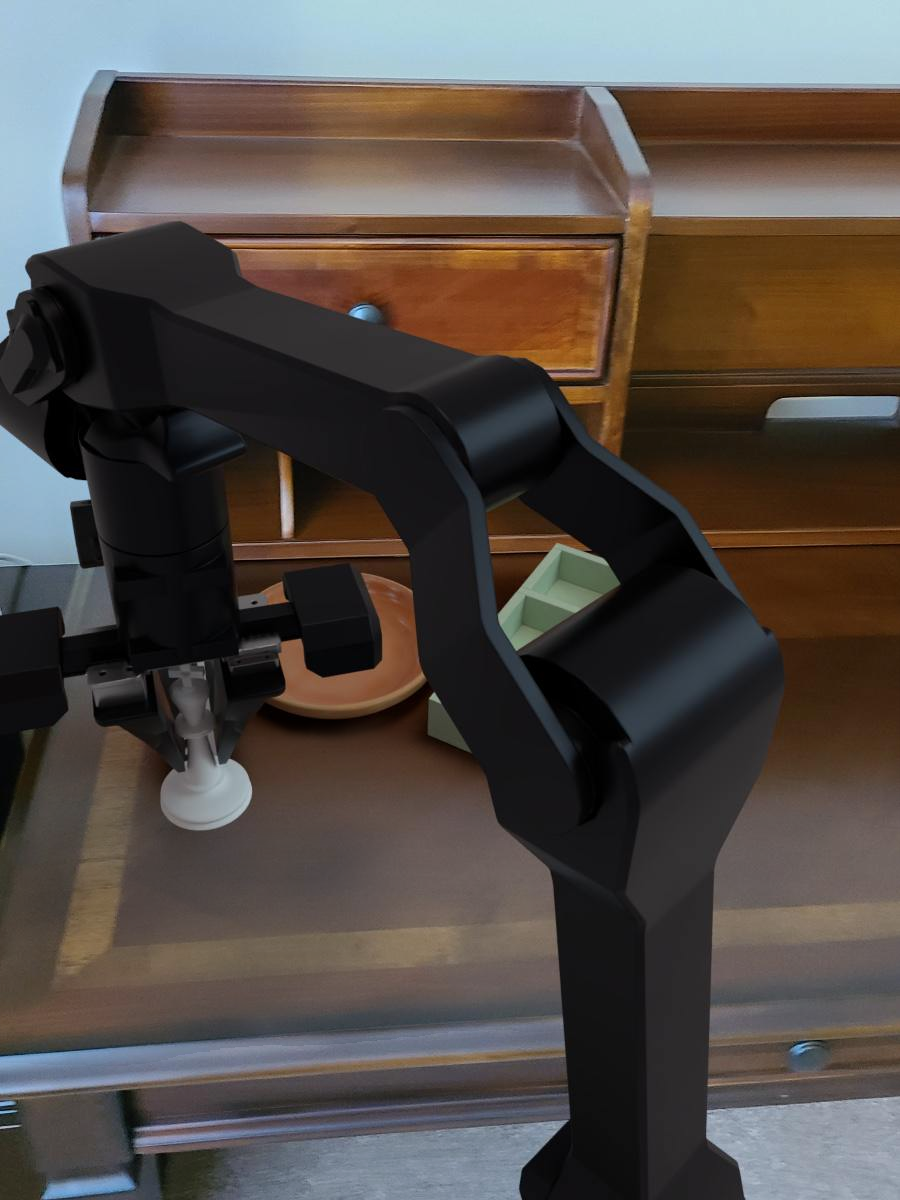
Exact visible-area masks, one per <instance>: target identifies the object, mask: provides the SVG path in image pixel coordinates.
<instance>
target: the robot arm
mask: <svg viewBox="0 0 900 1200" xmlns="http://www.w3.org/2000/svg"><path fill="white" fill-rule="evenodd" d="M24 269H25V271H26V274H27V276H28V278H29V279H30V289H26V290H23V291H20V292H19V293H18V294H17V297H16V298H15V302H14V308H11V309H7V310H6V314H5V316H6V319H7V323H8V328H9V331H8V335H7V336H6V337H5V338H4V339H3V340H2V341H0V426H1V427H2V428H3V429H4V430H5V431H7V432H8V433H9V434H10V435H12V436H13V437H14V438H15V439H17V440H18V441H19V442H20V443H21V444H23V445H24V446H25V447H26V448H27V449H29V450H30V451H32V452H33V453H34V454H35V455H36V456H37V457H39V459H42V460H43V461H44V462H45V463H47V464H48V465H49V466H50V467H51V468H52V469H54V470H55V471H56V472H57V473H59V474H60V475H61V476H62V477H64V478H65V479H73V480H76V481H86V483H87V489H88V493H89V498H90V499H89V498H88V499H82V500H73V501H70V504H69V510H70V517H71V523H72V530H73V536H74V542H75V548H76V552H77V559H78V563H79V566H80V568H81V569H82V570H85V569H93V568H100V567H104V571H105V575H106V580H107V586H108V591H109V593H110V594H109V595H110V601H111V605H112V610H113V614H114V619H115V623H114V624H108V625H103V626H96V627H88V628H86V629H84V630H83V631H82V634H75V635H69V636H65V634H66V625H65V621H64V617H63V612H62V609H61V608H60V607H59V606H58V605H57V606H52V607H45V608H37V609H31V610H25V611H19V612H11V613H5V614H0V736H3V735H9V734H16V733H21V732H25V731H31V730H37V729H43V728H48V727H53V726H55V725H56V724H57V723H58V722H59V721H60V720H62V718H63V717H64V716H65V715H66V714H67V713H68V711H69V699H68V696H67V693H66V692H67V691H66V687H65V679H68V678H73V677H80V676H84V677H85V680H86V684H87V686H88V688H89V689H90V690H91V696H92V712H93V718H94V721H95V723H96V724H97V725H98V726H99V727H101V728H102V727H103V728H109V727H120V728H121V729H123V730H124V731H126V732H127V733H129V734H130V735H132V736H134V737H135V738H137V739H138V740H140V741H141V742H143V743H145V744H146V745H148V746H149V747H150V748H151V749H152V750H153V751H154V752H155V753H157V755H159V756H160V758H162V759H163V760H164V761H165V762H166V763H167V764H168V765H169V766H170V767H171V768H172V769H175V770H176V771H177V772H178V773H180V772H185V763H184V757H183V751H182V745H181V739H180V736H179V735H178V734H177V733H176V732H175V729H174V722H175V720H174V717H173V715H172V712H171V709H170V706H169V703H168V700H167V697H166V694H165V692H164V689H163V686H162V683H161V680H160V677H159V674H158V670H157V669H163V668H169V667H175V666H181V665H187V664H193V663H199V662H205V661H211V660H214V716H215V719H216V725H215V728H214V737H215V744H216V750H217V756H218V761H219V764H220V765H222V764H226V763H227V762H228V760H229V759H231V756H232V754H233V752H234V750H235V748H236V746H237V744H238V743H239V741H240V738H241V737H242V735H243V733H244V732H245V730H246V728H247V726H248V725H249V723H250V722H251V721H252V719H253V718H254V717H255V715H256V714H257V713H258V712H259V711H260V709H261V708H262V707H263V705H264V704H265V703H266V702H265V701H266V700H267V699H269V698H272V697H277V696H280V695H282V694H283V693H284V692H285V690H286V681H285V677H284V673H283V670H282V666H281V662H280V659H279V655H278V653H282V649H281V642H284V641H290V640H296V639H301V641H302V644H303V651H304V662H305V665H306V669H308V670H310V671H311V672H313V673H315V674H317V675H319V676H320V677H322V678H326V677H331V676H337V675H343V674H348V673H354V672H359V671H365V670H371V669H375V667H376V666H377V665H378V664H379V663H380V662H381V661H382V631H381V625H380V620H379V617H378V614H377V612H376V609H375V607H374V604H373V602H372V599H371V597H370V594H369V592H368V589H367V587H366V584H365V582H364V579H363V577H362V574H361V573H362V572H361V571H360V570H359V569H358V568H356V567H355V566H354V565H352V564H351V563H350V562H344V563H338V564H332V565H325V566H324V565H323V566H318V567H311V568H303V569H298V570H297V569H296V570H289V571H284V572H283V574H282V576H281V578H282V581H283V592H284V596H285V599H287V600H288V601H290V602H284V603H277V604H271V605H269V604H268V601H267V597H266V595H265V594H263V593H261V592H259V593H252V594H248V595H247V594H246V595H240V596H239V593H238V585H237V576H236V567H235V559H234V549H233V539H232V531H231V523H230V513H229V505H228V496H227V488H226V487H227V486H226V478H225V468H224V465H225V464H227V463H230V462H232V461H235V460H237V459H239V458H243V457H245V455H246V454H247V452H248V446H247V443H246V442H245V440H244V438H243V437H242V435H243V436H245V437H246V438H249V439H251V440H254V441H256V442H257V443H260V444H262V445H264V446H266V447H268V448H271V449H273V450H274V451H277V452H280V453H281V454H284V455H285V456H288V457H290V458H292V459H294V460H296V461H298V462H300V463H303V464H305V465H307V466H308V467H311V468H314V469H316V470H318V471H320V472H322V473H324V474H327V475H329V476H330V477H333V478H335V479H337V480H339V481H341V482H344V483H346V484H347V485H350V486H352V487H354V488H356V489H359V490H361V491H362V492H365V493H367V494H369V495H372V496H373V497H375V499H376V501H377V503H378V504H379V506H380V507H381V509H382V510H383V513H384V514H385V516H386V517H387V519H388V521H389V522H390V524H391V526H392V527H393V529H394V531H395V532H396V533H397V535H398V536H399V538H400V540H401V541H402V543H403V545H404V546H405V548H406V549H407V552H408V559H409V570H410V580H411V581H410V582H411V590H412V592H413V603H414V614H415V625H416V636H417V647H418V658H419V663H420V666H421V669H422V672H423V675H424V676H425V678H426V679H427V681H426V682H427V683H428V684H429V686H430V688H431V689H432V691H433V693H434V692H435V694H436V696H437V697H438V699H439V700H440V702H441V704H442V705H443V707H444V709H445V710H446V712H447V713H448V715H449V717H450V718H451V720H452V722H453V723H454V725H455V726H456V728H457V730H458V731H459V733H460V735H461V736H462V738H463V739H464V741H465V743H466V744H467V746H468V747H469V749H470V751H471V752H472V753H471V754H472V756H473V758H474V759H475V761H476V762H477V764H478V766H479V767H480V768H481V770H482V772H483V774H484V775H485V778H486V782H487V786H488V790H489V795H490V798H491V803H492V806H493V809H494V814H495V818H496V821H497V823H498V824H499V826H500V827H501V828H502V829H503V830H505V831H506V833H508V834H509V835H510V836H511V837H512V838H514V839H515V840H516V841H517V842H518V843H519V844H520V845H521V846H523V847H524V848H525V849H526V850H527V851H529V852H530V854H532V855H533V856H534V857H535V858H536V859H537V860H538V861H540V862H541V863H542V864H543V865H544V866H546V867H547V868H548V870H549V872H550V873H549V874H550V877H551V882H552V891H553V903H554V916H555V919H554V920H555V929H556V930H555V931H556V932H555V933H556V945H557V958H558V971H559V986H560V998H561V999H560V1000H561V1012H562V1013H561V1014H562V1026H563V1027H562V1028H563V1038H564V1039H563V1040H564V1051H565V1052H564V1053H565V1054H564V1055H565V1066H566V1067H565V1068H566V1080H567V1082H566V1083H567V1093H568V1109H569V1119H568V1120H567V1121H566V1122H565V1123H564V1124H562V1126H560V1128H559V1129H558V1130H557V1131H556V1133H554V1135H553V1136H551V1137H550V1138H549V1140H548V1141H546V1143H544V1144H543V1146H542V1147H541V1148H540V1149H539V1150H538V1151H537V1152H536V1153H535V1154H534V1155H533V1156H532V1157H531V1158H530V1159H529V1161H528V1162H527V1163H526V1164H525V1165H524V1166H523V1167H521V1171H520V1178H519V1184H518V1191H519V1195H520V1198H521V1200H747V1199H746V1197H745V1191H744V1187H743V1180H742V1175H741V1174H742V1173H741V1170H740V1167H739V1162H738V1161H737V1160H736V1159H735V1158H733V1157H732V1156H731V1155H730V1154H728V1153H727V1152H725V1151H724V1149H722V1148H720V1147H719V1146H718V1145H716V1144H715V1143H714V1142H712V1141H711V1140H710V1139H708V1138H707V1137H708V1136H707V1127H708V1126H707V1125H708V1093H709V1092H708V1091H709V1090H708V1089H709V1088H708V1087H709V1062H710V1061H709V1060H710V1059H709V1058H710V1057H709V1056H710V1054H709V1053H710V1028H711V1025H710V1024H711V1022H710V1021H711V993H712V992H711V991H712V989H711V988H712V959H713V958H712V956H713V930H714V929H713V924H714V893H715V891H714V890H715V868H716V863H717V859H718V856H719V854H720V852H721V850H722V848H723V846H724V844H725V842H726V840H727V839H728V837H729V835H730V832H731V831H732V829H733V827H734V825H735V823H736V821H737V819H738V817H739V815H740V814H741V811H742V809H743V807H744V806H745V804H746V802H747V800H748V798H749V797H750V794H751V792H752V791H753V788H754V786H755V785H756V782H757V781H758V779H759V777H760V775H761V773H762V771H763V769H764V765H765V762H766V759H767V754H768V751H769V747H770V744H771V741H772V737H773V734H774V730H775V727H776V722H777V720H778V715H779V713H780V710H781V709H780V708H781V705H782V701H783V698H784V694H785V686H786V673H785V666H784V657H783V654H782V651H781V648H780V645H779V641H778V639H777V637H776V634H775V632H774V631H773V630H772V629H770V628H769V627H767V626H764V625H761V624H760V622H759V620H758V618H757V616H756V614H755V612H754V611H753V610H752V608H751V607H750V605H749V604H748V602H747V601H746V598H745V597H744V595H743V594H742V592H741V591H740V589H739V588H738V586H737V585H736V583H735V582H734V580H733V579H732V577H731V575H730V574H729V572H728V570H727V569H726V568H725V566H724V565H723V562H722V561H721V560H720V558H719V556H718V555H717V553H716V552H715V550H714V549H713V547H712V545H711V544H710V542H709V541H708V539H707V538H706V536H705V535H704V533H703V531H702V530H701V529H700V527H699V525H698V523H697V522H696V521H695V519H694V516H692V514H691V513H690V511H689V510H688V509H687V507H686V506H685V505H684V504H683V503H682V502H681V501H680V500H679V499H677V498H676V497H675V496H673V495H672V494H671V493H669V492H668V491H666V490H665V489H663V488H662V487H661V486H659V485H658V484H657V483H656V482H654V481H653V480H651V479H649V477H647V476H645V475H644V474H643V473H642V472H640V471H638V470H637V469H636V468H635V467H634V466H631V465H630V464H629V463H628V462H627V461H625V460H623V459H622V458H620V457H619V456H618V455H616V454H615V453H613V452H612V451H611V450H610V449H608V448H607V447H605V446H604V445H602V444H601V443H600V442H598V441H597V440H595V438H593V437H592V436H591V435H590V433H589V432H588V430H587V428H586V427H585V426H584V423H583V422H582V421H581V419H580V418H579V416H578V414H577V413H576V411H575V409H574V408H573V407H572V405H571V404H570V402H569V400H568V398H567V397H566V395H565V394H564V392H563V391H562V389H561V388H560V385H559V384H558V383H557V382H556V381H555V380H554V379H553V378H552V376H551V375H550V374H549V373H548V372H547V371H546V369H544V367H542V366H541V365H539V364H537V363H536V362H534V361H532V360H530V359H528V358H526V357H519V356H518V357H516V356H508V355H503V354H497V353H496V354H490V355H489V354H488V355H482V354H481V355H479V354H475V353H471V352H468V351H465V350H462V349H459V348H455V347H452V346H449V345H446V344H442V343H440V342H436V341H433V340H430V339H426V338H424V337H421V336H417V335H414V334H410V333H407V332H404V331H401V330H398V329H396V328H395V329H394V328H391V327H388V326H385V325H382V324H378V323H375V322H372V321H369V320H366V319H363V318H360V317H356V316H353V315H350V314H347V313H343V312H340V311H337V310H334V309H331V308H327V307H324V306H321V305H318V304H315V303H311V302H309V301H305V300H302V299H299V298H295V297H293V296H290V295H285V294H283V293H279V292H276V291H273V290H269V289H267V288H263V287H260V286H257V285H256V284H254V283H253V282H250V281H249V280H247V279H246V278H244V277H243V273H242V269H241V264H240V260H239V257H238V254H237V253H236V252H235V250H233V249H231V248H230V247H229V246H227V245H225V244H223V243H222V242H220V241H218V240H217V239H215V238H213V237H211V236H209V235H208V234H207V233H205V232H202V231H201V230H199V229H197V228H196V227H194V226H193V225H190V224H188V223H186V222H184V221H181V220H177V221H176V220H173V221H170V220H169V221H164V222H161V223H156V224H153V225H149V226H145V227H141V228H137V229H132V230H128V231H124V232H120V233H116V234H111V235H108V236H103V237H100V238H96V239H92V240H87V241H83V242H79V243H75V244H71V245H67V246H63V247H59V248H55V249H51V250H46V251H42V252H38V253H34V254H32V255H31V256H30V257H28V258H27V260H26V263H25V265H24ZM515 498H517V499H518V500H519V501H520V502H521V503H522V504H523V505H525V506H526V507H528V508H529V509H531V510H532V511H534V512H535V513H537V514H538V515H539V516H541V517H542V518H543V519H546V521H548V522H549V523H551V524H552V525H554V526H555V527H557V528H558V529H559V530H561V531H563V533H566V534H567V535H568V536H570V537H571V538H572V539H574V540H576V541H577V542H579V543H580V544H581V545H583V546H584V547H586V548H587V549H589V550H590V551H591V552H593V553H595V554H596V556H598V557H601V558H603V559H604V560H605V561H606V562H607V563H608V565H609V567H610V568H611V570H612V571H613V573H614V575H615V576H616V578H617V579H618V581H619V582H620V585H618V586H617V587H615V588H613V589H612V590H610V591H609V592H607V593H606V594H604V595H603V596H601V597H599V598H598V599H596V600H595V601H593V602H592V603H590V604H588V605H587V606H585V607H584V608H582V609H581V610H579V611H578V612H576V613H574V614H573V615H571V616H570V617H568V618H567V619H565V620H564V621H562V622H560V623H559V624H557V625H556V626H554V627H553V628H551V629H550V630H548V631H546V632H545V633H543V634H542V635H540V636H539V637H537V638H536V639H534V640H532V641H531V642H529V643H528V644H526V645H525V646H523V647H521V648H520V649H518V650H517V651H516V650H515V648H514V647H513V645H512V644H511V642H510V640H509V639H508V637H507V636H506V634H505V632H504V631H503V629H502V628H501V626H500V623H499V620H498V614H499V612H498V604H497V595H496V588H495V586H496V585H495V577H494V570H493V562H492V554H491V553H492V552H491V546H490V545H491V544H490V537H489V529H488V520H487V514H488V513H489V512H491V511H492V510H494V509H496V508H498V507H500V506H502V505H504V504H506V503H508V502H510V501H512V500H514V499H515Z"/></svg>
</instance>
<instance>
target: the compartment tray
mask: <svg viewBox="0 0 900 1200" xmlns="http://www.w3.org/2000/svg"><path fill="white" fill-rule="evenodd" d="M618 585H620V582H619V581H618V579H617V578H616V576H615V575H614V573H613V571H612V570H611V568H610V567H609V565H608V563H607V562H606V561H605V560H604V559H603V558H602V557H600V556H599V555H594V554H592V553H588V552H586V551H583V550H580V549H577V548H574V547H572V546H568V545H565V544H562V543H559V542H556V543H555V544H554V545H553V546H552V547H551V549H550V550H549V552H548V553H547V554H546V555H545V556H544V558H543V559H542V560H541V561H540V563H539V564H538V565H537V566H536V568H535V569H534V570H533V571H532V572H531V574H530V575H529V576H528V578H526V579H525V581H524V582H523V583H522V585H520V587H519V589H517V590H516V592H514V594H513V595H512V596H511V598H510V599H509V600H508V601H507V603H506V604H505V605H504V606H503V607H502V609H501V610H500V611H499V612H498V620H499V623H500V626H501V628H502V629H503V631H504V632H505V634H506V636H507V637H508V639H509V640H510V642H511V644H512V645H513V647H514V648H515V650H516V651H517V650H518V649H520V648H521V647H523V646H525V645H526V644H528V643H529V642H531V641H532V640H534V639H536V638H537V637H539V636H540V635H542V634H543V633H545V632H546V631H548V630H550V629H551V628H553V627H554V626H556V625H557V624H559V623H560V622H562V621H564V620H565V619H567V618H568V617H570V616H571V615H573V614H574V613H576V612H578V611H579V610H581V609H582V608H584V607H585V606H587V605H588V604H590V603H592V602H593V601H595V600H596V599H598V598H599V597H601V596H603V595H604V594H606V593H607V592H609V591H610V590H612V589H613V588H615V587H617V586H618ZM427 711H428V714H427V735H428V736H430V737H432V738H434V739H436V740H439V741H440V742H441V741H442V742H444V743H446V744H449V745H451V746H453V747H456V748H458V749H460V750H463V751H465V752H468V753H469V754H472V752H471V751H470V749H469V747H468V746H467V744H466V743H465V741H464V739H463V738H462V736H461V735H460V733H459V731H458V730H457V728H456V726H455V725H454V723H453V722H452V720H451V718H450V717H449V715H448V713H447V712H446V710H445V709H444V707H443V705H442V704H441V702H440V700H439V699H438V697H437V696H436V694H435V692H434V691H433V693H432V694H431V695H430V696H429V698H428V710H427Z"/></svg>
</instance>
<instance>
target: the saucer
mask: <svg viewBox="0 0 900 1200" xmlns="http://www.w3.org/2000/svg"><path fill="white" fill-rule="evenodd" d="M361 574H362V577H363V579H364V582H365V584H366V587H367V589H368V592H369V594H370V597H371V599H372V602H373V604H374V607H375V609H376V612H377V614H378V617H379V620H380V625H381V631H382V661H381V662H380V663H379V664H378V665H377V666H376V667H375V669H371V670H365V671H359V672H354V673H348V674H343V675H337V676H331V677H326V678H322V677H320V676H319V675H317V674H315V673H313V672H311V671H310V670H308V669H306V665H305V662H304V651H303V644H302V641H301V639H296V640H290V641H284V642H281V649H282V653H278V655H279V659H280V662H281V666H282V670H283V673H284V677H285V681H286V690H285V692H284V693H283V694H282V695H280V696H277V697H272V698H269V699H267V700H266V701H265V702H264V703H265V704H268V705H270V706H272V707H274V708H276V709H279V710H281V711H284V712H286V713H289V714H292V715H296V716H300V717H305V718H306V717H307V718H312V719H320V720H344V719H352V718H361V717H365V716H369V715H372V714H376V713H378V712H381V711H384V710H386V709H389V708H391V707H393V706H395V705H397V704H399V703H402V702H403V701H405V700H406V699H408V698H409V697H411V696H412V695H413V694H415V693H416V692H417V691H419V690H420V689H421V688H422V687H423V686H424V685H425V684H426V683H427V682H428V681H427V679H426V678H425V676H424V675H423V672H422V669H421V666H420V663H419V658H418V647H417V636H416V625H415V614H414V603H413V592H412V589H410V588H408V586H404V585H403V584H400V583H398V582H396V581H393V580H391V579H389V578H385V577H383V576H379V575H374V574H370V573H365V572H361ZM260 593H263V594H265V595H266V597H267V601H268V604H269V605H271V604H277V603H284V602H290V601H288V600H287V599H285V596H284V592H283V580H282V581H280V582H277V583H276V584H273V585H271V586H269V587H267V588H266V589H264V590H262V591H260Z"/></svg>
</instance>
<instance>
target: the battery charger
mask: <svg viewBox="0 0 900 1200" xmlns="http://www.w3.org/2000/svg"><path fill="white" fill-rule="evenodd" d="M191 666H204V669H205V674H204V679H205V680H206V681H207V682H208V683H209V686H210V693H209V697H208V699H207V702H206V707H205V708H206V709H208V710H210V711H211V712H212V713H213V715H214V660H211V661H205V662H199V663H193V664H191ZM157 670H158V674H159V677H160V680H161V683H162V686H163V689H164V692H165V694H166V697H167V700H168V703H169V706H170V709H171V712H172V715H173V717H174V720H175V719H176V717H177V716H178V714H179V713H180V711H179V709H178V708H177V706H176V705H175V704H174V703H173V701H172V700H171V698H170V695H169V689H170V687H171V685H172V684H173V683H174V682H175V681H176V680H178V679H179V678H169V673H168V670H169V668H163V669H157ZM207 736H208V740H209V743H210V746H211V749H212V752H213V755H214V756H217V750H216V744H215V737H214V729H213V730H212V731H211V732H210V733H209V734H208V735H207ZM180 739H181V745H182V751H183V757H184V762H185V761H187V738H183V737H181V736H180Z"/></svg>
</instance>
